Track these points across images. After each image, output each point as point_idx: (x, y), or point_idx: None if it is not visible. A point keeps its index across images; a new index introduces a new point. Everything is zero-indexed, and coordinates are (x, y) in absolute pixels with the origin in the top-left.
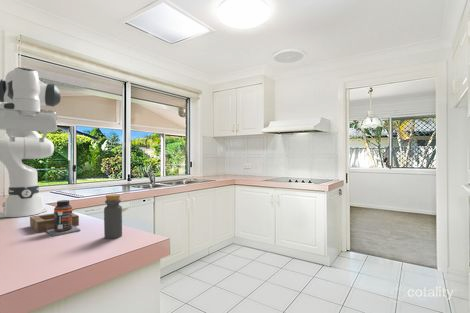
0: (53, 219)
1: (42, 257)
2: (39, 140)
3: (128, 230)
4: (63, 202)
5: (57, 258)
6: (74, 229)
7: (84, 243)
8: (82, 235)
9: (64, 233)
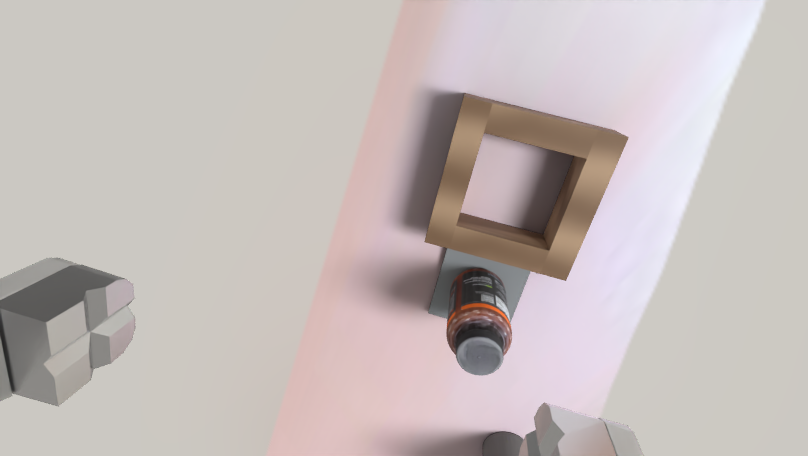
0: (478, 250)
1: (339, 421)
2: (542, 452)
3: None
4: (468, 369)
5: (352, 448)
6: None
7: (433, 426)
8: None
9: None
